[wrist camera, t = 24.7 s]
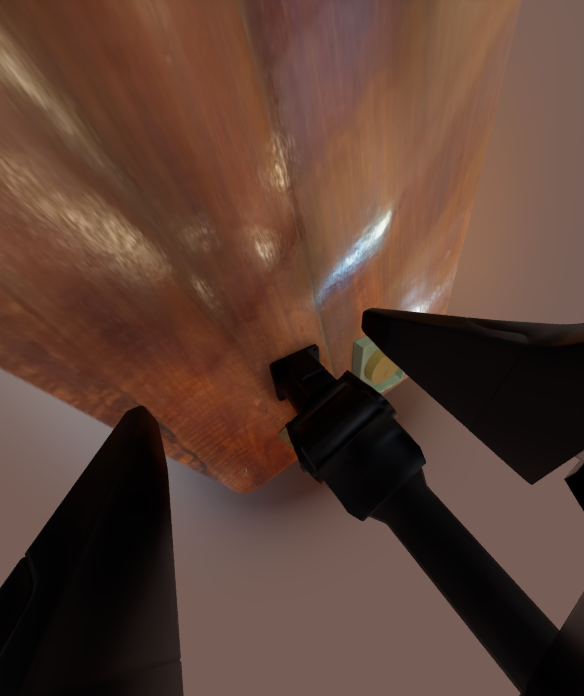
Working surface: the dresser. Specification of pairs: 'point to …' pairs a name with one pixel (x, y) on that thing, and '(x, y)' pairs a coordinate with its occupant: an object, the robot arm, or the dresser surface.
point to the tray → (360, 358)
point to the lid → (379, 367)
